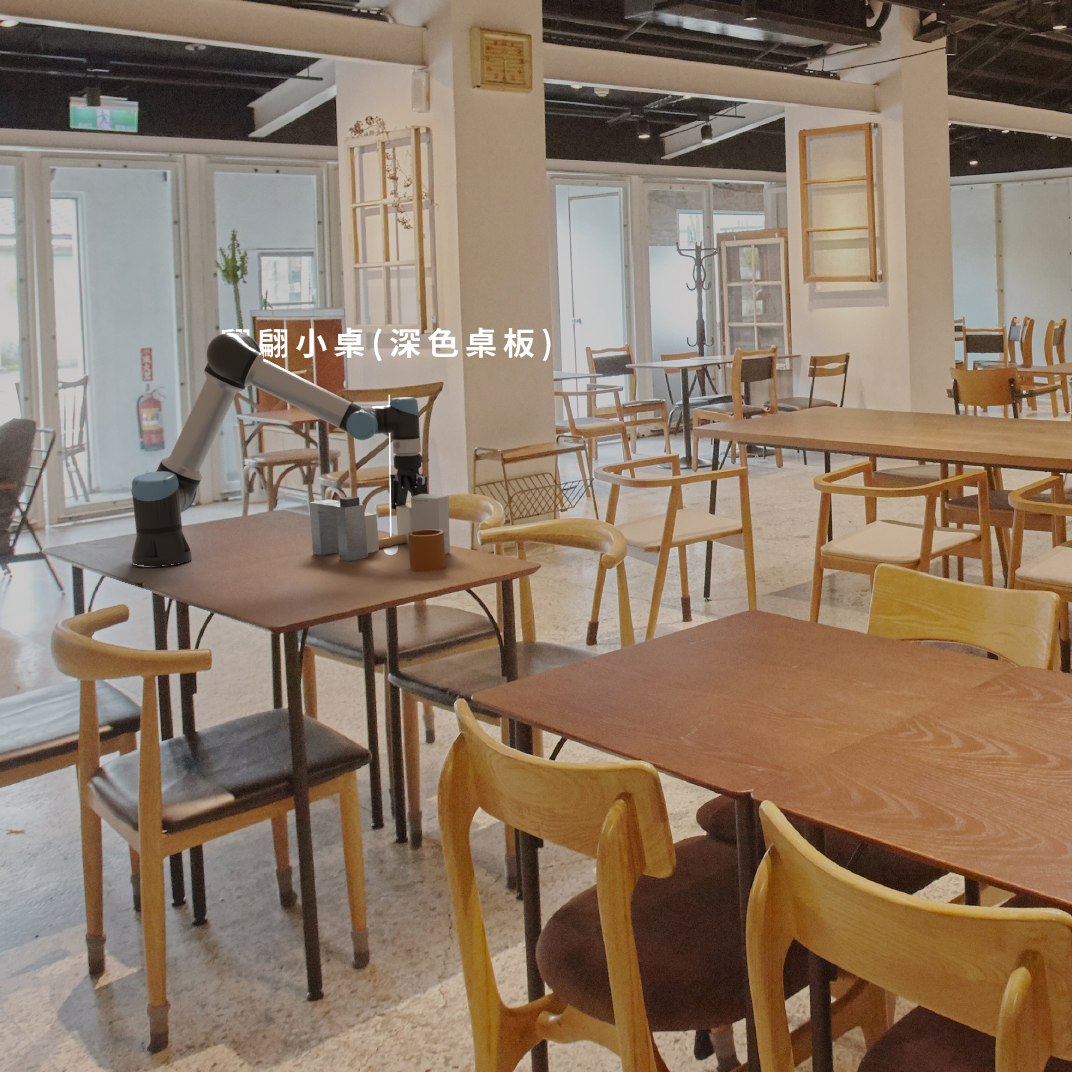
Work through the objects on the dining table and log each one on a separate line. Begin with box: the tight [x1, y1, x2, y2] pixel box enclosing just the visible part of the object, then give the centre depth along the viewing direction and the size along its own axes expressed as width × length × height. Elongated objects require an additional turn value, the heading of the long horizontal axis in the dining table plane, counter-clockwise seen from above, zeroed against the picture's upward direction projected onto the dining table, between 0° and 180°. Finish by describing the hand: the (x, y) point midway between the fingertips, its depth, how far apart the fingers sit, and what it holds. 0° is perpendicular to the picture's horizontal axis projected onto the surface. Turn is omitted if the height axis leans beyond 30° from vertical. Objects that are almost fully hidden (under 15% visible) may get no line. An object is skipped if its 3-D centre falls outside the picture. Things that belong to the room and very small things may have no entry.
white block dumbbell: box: [364, 503, 412, 554], centre depth 331 cm, size 6×21×10 cm, turn 133°
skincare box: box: [410, 493, 451, 556], centre depth 317 cm, size 8×7×16 cm
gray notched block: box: [309, 496, 369, 562], centre depth 320 cm, size 16×6×16 cm, turn 43°
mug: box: [408, 529, 447, 572], centre depth 302 cm, size 9×12×9 cm
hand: (412, 536), depth 337 cm, fingers open, 7 cm apart
